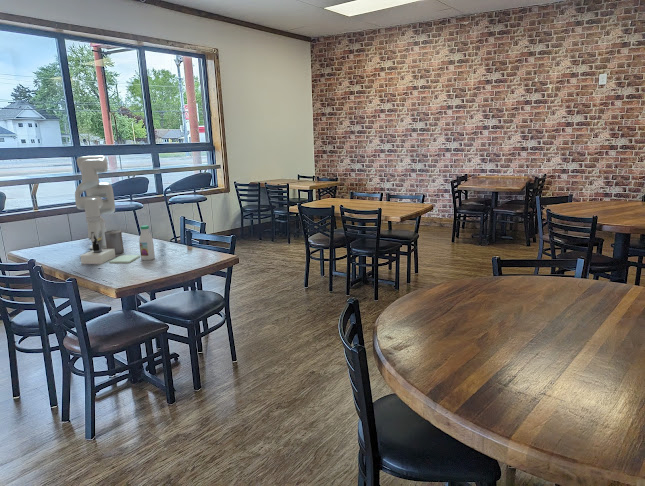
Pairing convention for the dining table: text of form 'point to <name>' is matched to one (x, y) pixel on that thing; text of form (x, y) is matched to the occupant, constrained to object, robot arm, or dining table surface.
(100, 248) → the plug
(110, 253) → the block
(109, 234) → the grey bin
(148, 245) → the milk bottle
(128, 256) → the pad
